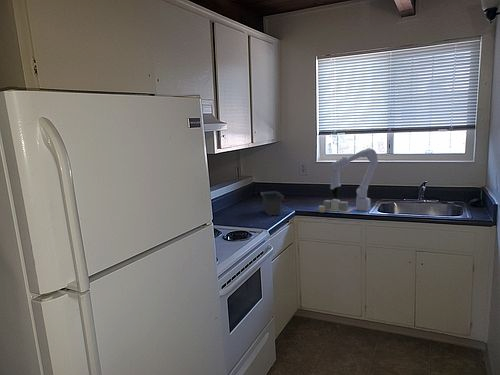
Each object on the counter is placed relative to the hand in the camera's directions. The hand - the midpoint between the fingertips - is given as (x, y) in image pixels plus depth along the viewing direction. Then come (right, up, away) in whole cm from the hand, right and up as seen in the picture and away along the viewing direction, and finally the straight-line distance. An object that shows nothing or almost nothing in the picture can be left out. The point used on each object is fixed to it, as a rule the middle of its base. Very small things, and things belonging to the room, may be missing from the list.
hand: (335, 197), depth 271 cm
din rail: (0, -9, +2) cm, 9 cm away
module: (0, -8, +2) cm, 8 cm away
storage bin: (-45, -12, +2) cm, 47 cm away
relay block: (-10, -10, -1) cm, 14 cm away
